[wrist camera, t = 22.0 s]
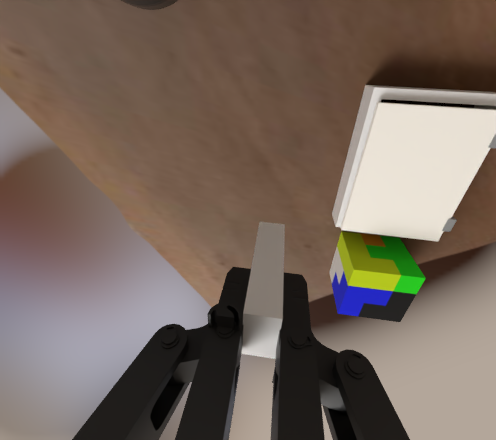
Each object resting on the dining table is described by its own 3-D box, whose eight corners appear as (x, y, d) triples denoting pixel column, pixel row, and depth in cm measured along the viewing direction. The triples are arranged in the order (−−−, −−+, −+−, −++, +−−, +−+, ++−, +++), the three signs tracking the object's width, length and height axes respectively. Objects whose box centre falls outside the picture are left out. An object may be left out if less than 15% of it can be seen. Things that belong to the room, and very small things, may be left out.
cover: (376, 102, 30) (379, 103, 29) (512, 110, 28) (519, 112, 27) (340, 227, 39) (341, 230, 38) (440, 238, 38) (443, 242, 37)
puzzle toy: (329, 271, 50) (337, 313, 42) (341, 231, 45) (353, 269, 37) (380, 278, 49) (400, 322, 41) (399, 237, 44) (425, 278, 36)
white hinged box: (365, 84, 33) (374, 87, 29) (492, 91, 31) (516, 95, 28) (332, 214, 43) (335, 226, 40) (425, 223, 42) (437, 237, 39)
